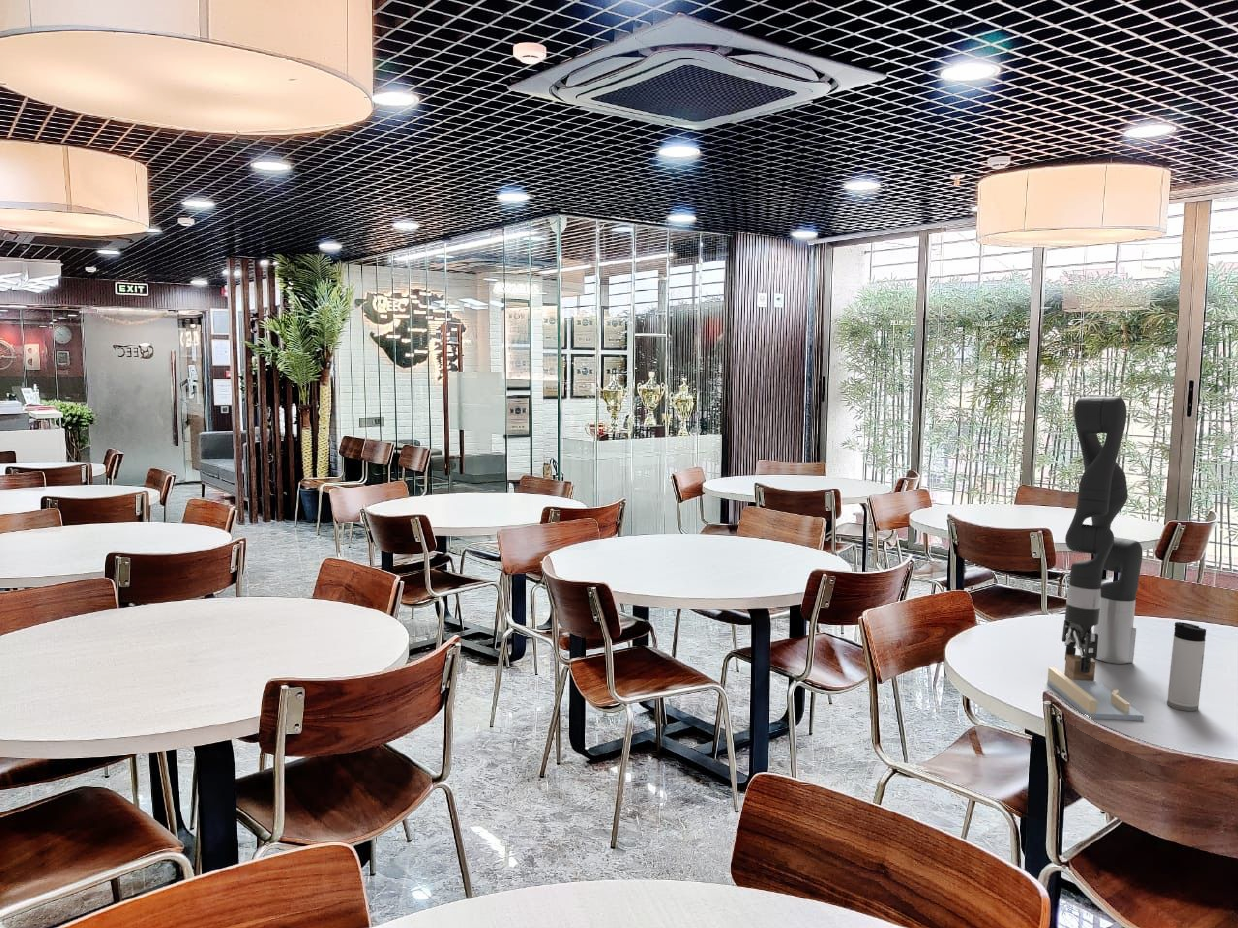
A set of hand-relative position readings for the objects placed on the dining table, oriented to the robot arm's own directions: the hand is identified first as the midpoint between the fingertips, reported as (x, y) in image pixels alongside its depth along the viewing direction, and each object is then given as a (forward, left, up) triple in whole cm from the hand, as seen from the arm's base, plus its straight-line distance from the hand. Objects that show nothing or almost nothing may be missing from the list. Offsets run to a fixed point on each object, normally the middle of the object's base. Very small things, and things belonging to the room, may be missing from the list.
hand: (1076, 666), depth 227 cm
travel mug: (-18, +15, -4) cm, 24 cm away
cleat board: (+2, +14, -4) cm, 15 cm away
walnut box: (-1, 0, -4) cm, 4 cm away
